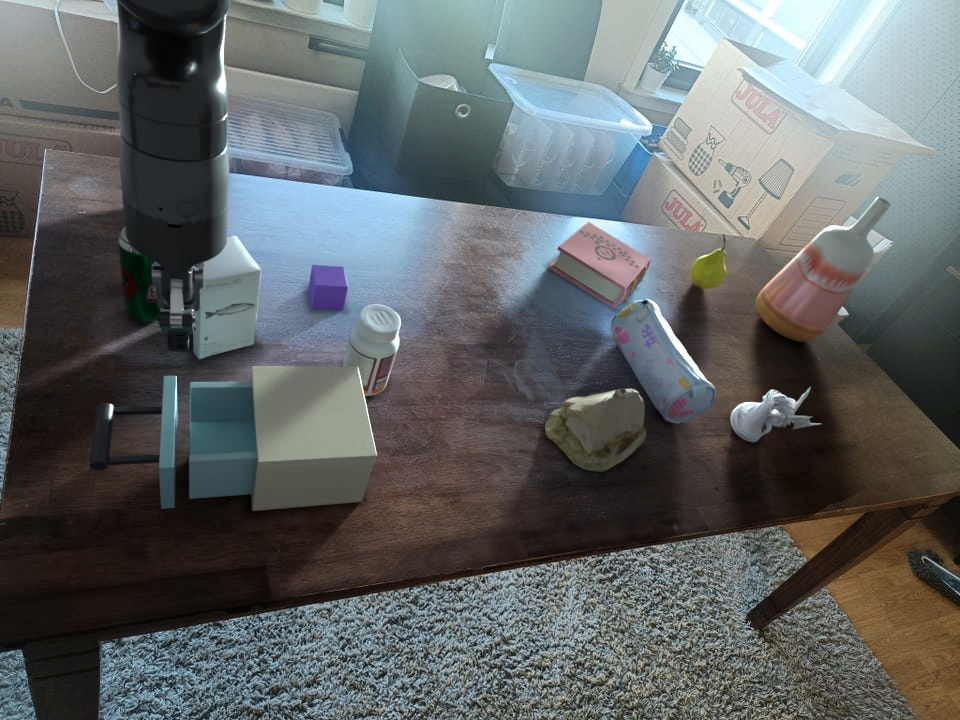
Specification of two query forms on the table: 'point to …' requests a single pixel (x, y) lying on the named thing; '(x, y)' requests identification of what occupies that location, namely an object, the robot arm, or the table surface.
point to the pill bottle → (373, 346)
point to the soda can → (137, 283)
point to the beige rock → (598, 428)
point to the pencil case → (661, 362)
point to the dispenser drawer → (194, 439)
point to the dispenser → (310, 436)
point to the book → (600, 264)
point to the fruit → (709, 269)
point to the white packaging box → (227, 301)
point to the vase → (819, 279)
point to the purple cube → (327, 287)
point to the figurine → (767, 415)
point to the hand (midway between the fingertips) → (181, 346)
